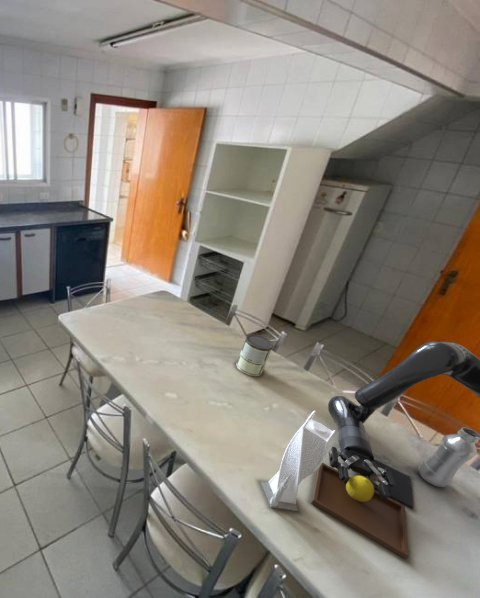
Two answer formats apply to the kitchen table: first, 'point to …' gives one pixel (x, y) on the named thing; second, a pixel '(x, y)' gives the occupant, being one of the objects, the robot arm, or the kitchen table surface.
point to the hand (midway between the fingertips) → (364, 489)
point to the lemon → (360, 488)
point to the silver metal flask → (449, 457)
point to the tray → (362, 511)
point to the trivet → (397, 485)
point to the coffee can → (254, 355)
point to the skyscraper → (298, 463)
